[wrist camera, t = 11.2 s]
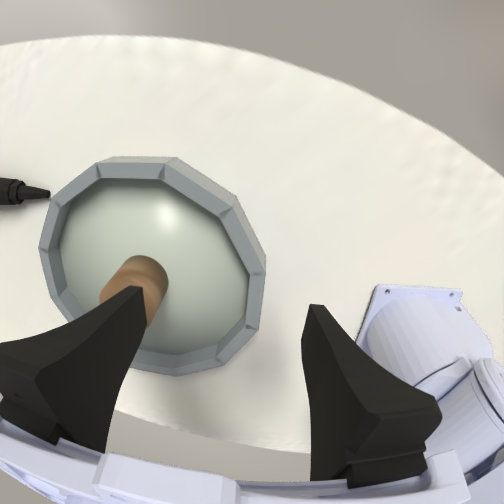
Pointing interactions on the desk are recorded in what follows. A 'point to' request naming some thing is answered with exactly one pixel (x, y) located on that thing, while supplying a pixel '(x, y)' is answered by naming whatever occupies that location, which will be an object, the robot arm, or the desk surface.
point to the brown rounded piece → (139, 282)
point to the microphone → (19, 192)
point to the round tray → (159, 256)
